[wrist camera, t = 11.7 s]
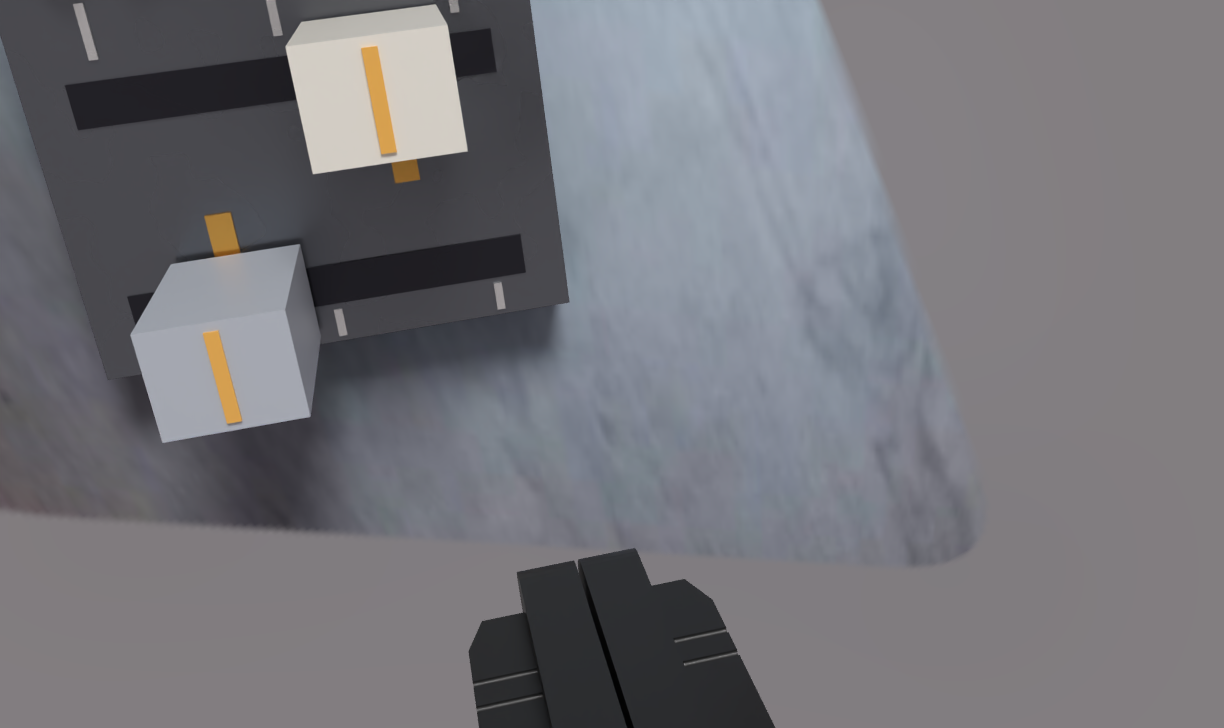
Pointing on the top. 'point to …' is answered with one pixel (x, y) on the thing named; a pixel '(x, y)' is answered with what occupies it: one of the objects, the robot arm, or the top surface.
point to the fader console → (280, 163)
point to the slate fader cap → (229, 343)
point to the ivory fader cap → (376, 88)
